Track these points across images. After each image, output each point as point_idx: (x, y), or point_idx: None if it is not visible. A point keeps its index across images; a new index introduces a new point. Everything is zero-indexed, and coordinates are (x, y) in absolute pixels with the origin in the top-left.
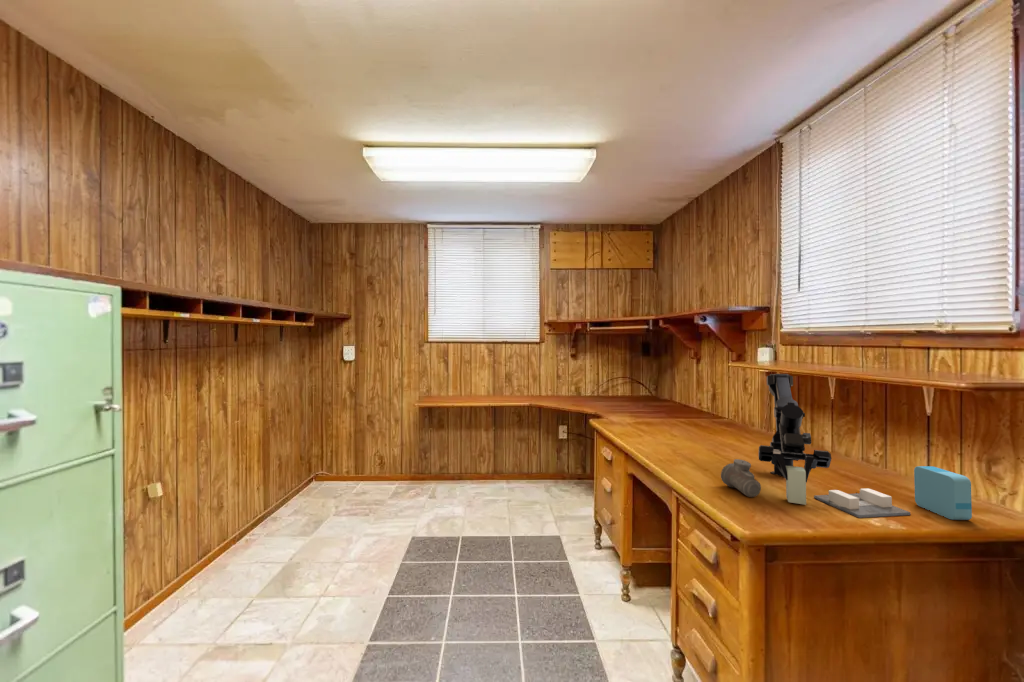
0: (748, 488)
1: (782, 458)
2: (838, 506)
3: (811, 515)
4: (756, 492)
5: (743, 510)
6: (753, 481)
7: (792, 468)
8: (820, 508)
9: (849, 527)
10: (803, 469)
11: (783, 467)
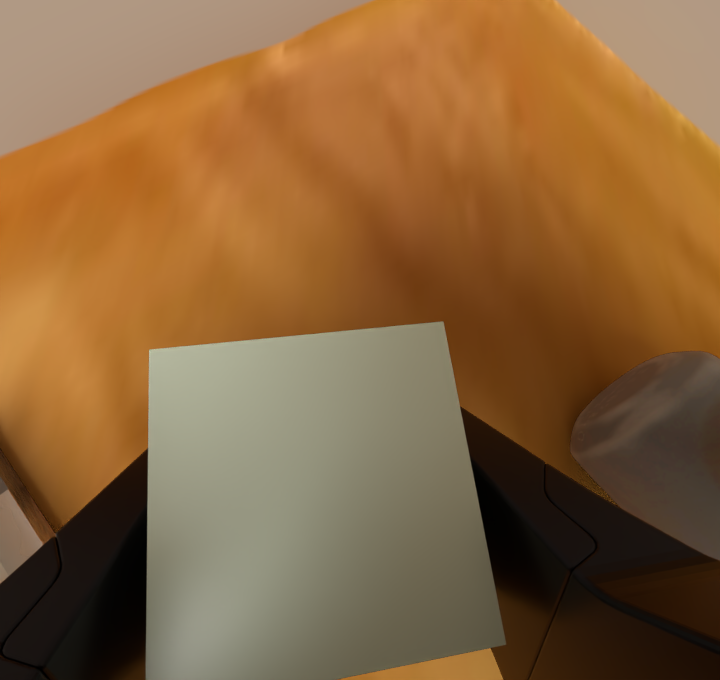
0: (657, 357)
1: (707, 615)
2: (19, 503)
3: (244, 261)
4: (588, 410)
5: (570, 161)
6: (680, 380)
7: (371, 443)
8: None
9: (68, 177)
10: (168, 488)
11: (522, 466)
